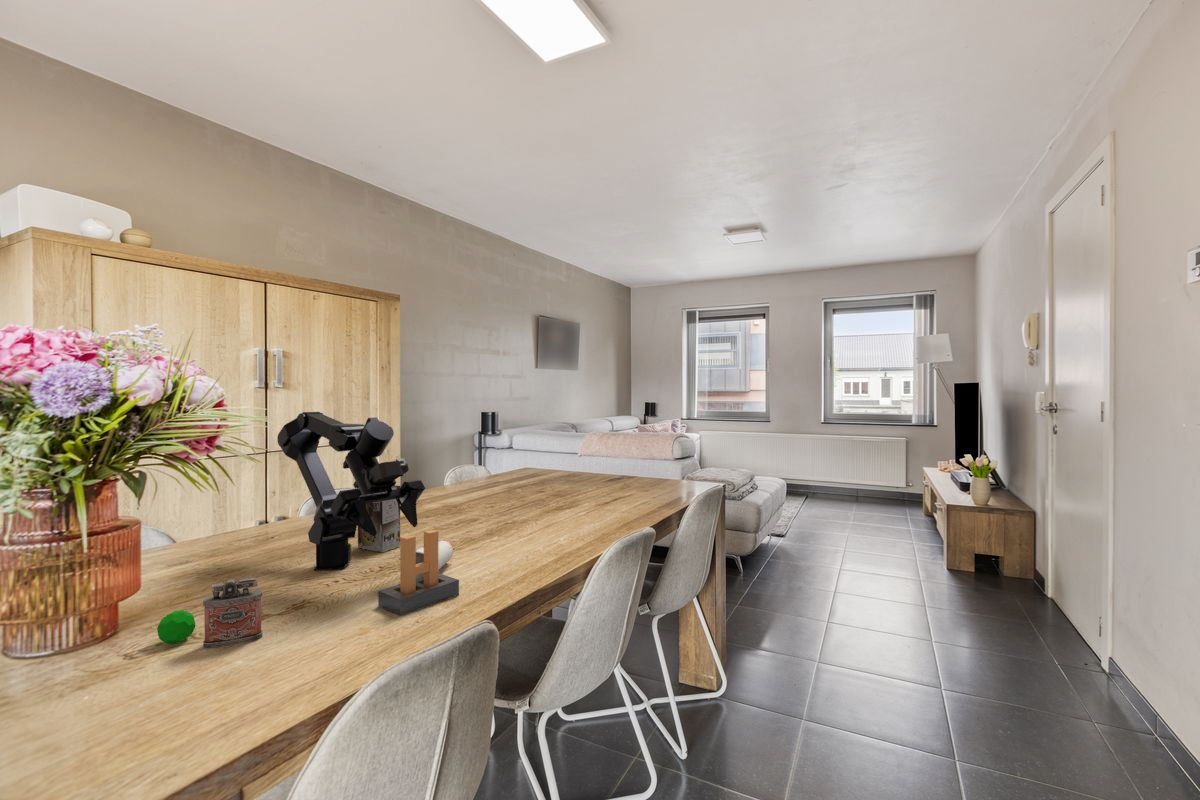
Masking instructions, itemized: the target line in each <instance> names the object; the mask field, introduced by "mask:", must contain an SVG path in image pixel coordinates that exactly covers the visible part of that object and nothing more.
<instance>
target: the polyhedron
mask: <svg viewBox="0 0 1200 800" xmlns="http://www.w3.org/2000/svg"><path fill="white" fill-rule="evenodd" d="M196 625H197V624H196V621H195V617H194V614H192V613H191V612H190V611H187V610H173V611H172V612H170V613H168V614H167V615H165V616H164V617H163V618H162V619H161V620H160V622H159V623H158V625H157V628H156V630H157V636H158V638H159V640H160V641H162V642H164V643H165V644H170V645H171V644H173V645H174V644H180V643H181V642H183V641H185V640H186V639H187V638H189V637H190V636H191V635H192V634H193V633H194V630H195V628H196Z"/></svg>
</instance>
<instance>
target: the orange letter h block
mask: <svg viewBox="0 0 1200 800" xmlns="http://www.w3.org/2000/svg"><path fill="white" fill-rule="evenodd" d="M416 539H417V538H416V536H415V535H411V534H408V535H403V536H400V547H399V549H400V554H399V555H400V559H399V561H400V562H399V564H400V569H399V571H400V576H399V577H400V579H399V581H400V583H399V584H400V593H403V594H407V593H410V592H413V591H416V575H418V574H421V573H424V585H426V586H432V585H435V584H438V573H439V571H438V541H439V531H438V530H435V529H430V530H424V531H423V547H424V562H422V563H419V564H416V548H417V547H416V546H417V545H416V544H417V542H416Z"/></svg>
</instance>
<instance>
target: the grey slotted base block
mask: <svg viewBox="0 0 1200 800" xmlns="http://www.w3.org/2000/svg"><path fill="white" fill-rule="evenodd" d="M377 592H378V593H377V594H378V602H377V603H378V605H377V606H378V608H381V609H383V610H386V611H388V612H390V613H393V614H395V615H398V616H399V617H401V616H404V615H406V614H409V613H412V612H414V611H417V610H418V611H419V610H421V609H423V608H426V607H429V606H431V605H435V604H437V603H439V602H442V601H446V600H449V599H450V597H451V598H453V597H456V596H459V595H460V594H459V593H460V580H459V579H457V578H454V577H451V576H448V575H446V574H442V573H439V572H438V584H435V585H432V586H426V585H424V577H421V578H418V579H416V591H413V592H410V593H407V594H403V593H400V583H398V584H396V585H392V586H389V587H386V588H383V589H379V590H378V591H377Z"/></svg>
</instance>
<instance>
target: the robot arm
mask: <svg viewBox="0 0 1200 800" xmlns="http://www.w3.org/2000/svg"><path fill="white" fill-rule="evenodd" d="M394 433H395V432H394V430H393V427H392V426H390V425H389V424H387V423H386V422H384V421H381V420H379V419H378V417H375V416H374V417H367V419H366V421H365V424H362V423H345V422H341V421H339V420H336V419H334V418H332V417H329V416H328V415H325V414H324V413H323V412H320V411H303V412H301V413H299V414H298V415H297V417H296V418H294V419H293V420H291V421H289V422H287V423H286V424H284V425H283V427H281V430H280V431H279V432H278V433H277V445H278V446H279V447H280V448H281V450H282V452H283V454H284V455H285V456H286V457H288V458H289V459H291V460H293V461H294V462H295V463H296V464H297V466H298V469H299V471H300V473H301V475H302V478H303V481H304V482H305V484H306V486H307V489H308V490H309V493H310V496H311V498H312V500H313V502H314V505H315V506H316V510H315V512H314V516H313V524H312V525H311V527H310V529H309V531H308V533H307V534H308V535H307V536H308V541H309V542H310V543H312V544H315V566H314V567H313V571H329V570H331V571H332V570H343V569H345V568H347V566H348V565H349V563H350V562H351V560H352V559H351V558H352V557H351V555H352V554H351V551H352V550H351V549H352V548H351V547H352V545H351V543H349V539H352V538H353V539H354V538H356V537H355V536H356V532H357V529H358V526H359V527H360V528H362V529H363V530H365V531H366V532H368V533H369V534H371V535H372V536H376V534H377V531H376V528H375V526H374V524H373V522H372V520H371V518H370V516H369V514H368V511H367V509H366V504H367V503H376V502H382V501H388V500H394V499H396V501H397V503H398V504H400V507H399V508H400V512H401V513H402V514H403V516H404V517H405V518H406V520H407V521H408V523H409V524H410V525H411V526H412V527H413V528H416V527H417V526H418V514H417V513H418V512H417V501H418V500H419V498H420V497H421V495H422V494H423V492H424V491H425V489H426V486H425V484H424V482H423V481H422V480H420V479H413V480H407V481H403V483H402V484H401V485H400V489H396V490H392V488H391V487H392V486H394V485H396V484H397V481H396V480H397V479H398V478H401V477H403V476H404V474H405V475H406V473H408V472H409V470H410V468H409V464H408V462H407V461H406V460H405V458H404V457H403V458H396V459H395V460H392V461H384V462H379V461H378V459H377V457H380V456H382V455H383V453H384V452H385V450H386V449H387V447H388V445H389V444H390V442H391V440H392V438H393V437H394ZM322 438H325V439H326V440H328V446H330V448H332V449H334V450H335V452H338V453H339V452H348V453H347V454H346V456H345V458H344V462H343V464H342V468H343V469H346V470H347V469H349V470H350V473H351V474H352V476H353V478H354V483H353V484H352V485H353V487H354V488H350V489H344V490H339V492H338V493H337V492H336V490H335V488H334V486H333V484H332V481H331V480H330V479H331V478H330V477H329V475H328V472H327V470H326V469H325V467H324V464H323V462H322V461H321V457H320V456H319V454H318V451H317V450H318V447H319V444H320V440H321V439H322ZM357 488H359V489H357Z"/></svg>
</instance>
